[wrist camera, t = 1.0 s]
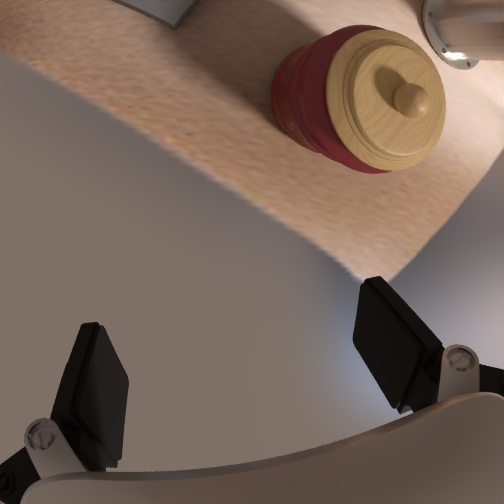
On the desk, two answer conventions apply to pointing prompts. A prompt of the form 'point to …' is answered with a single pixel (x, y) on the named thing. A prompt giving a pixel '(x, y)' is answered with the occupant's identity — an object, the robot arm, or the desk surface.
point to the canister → (361, 99)
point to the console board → (162, 9)
